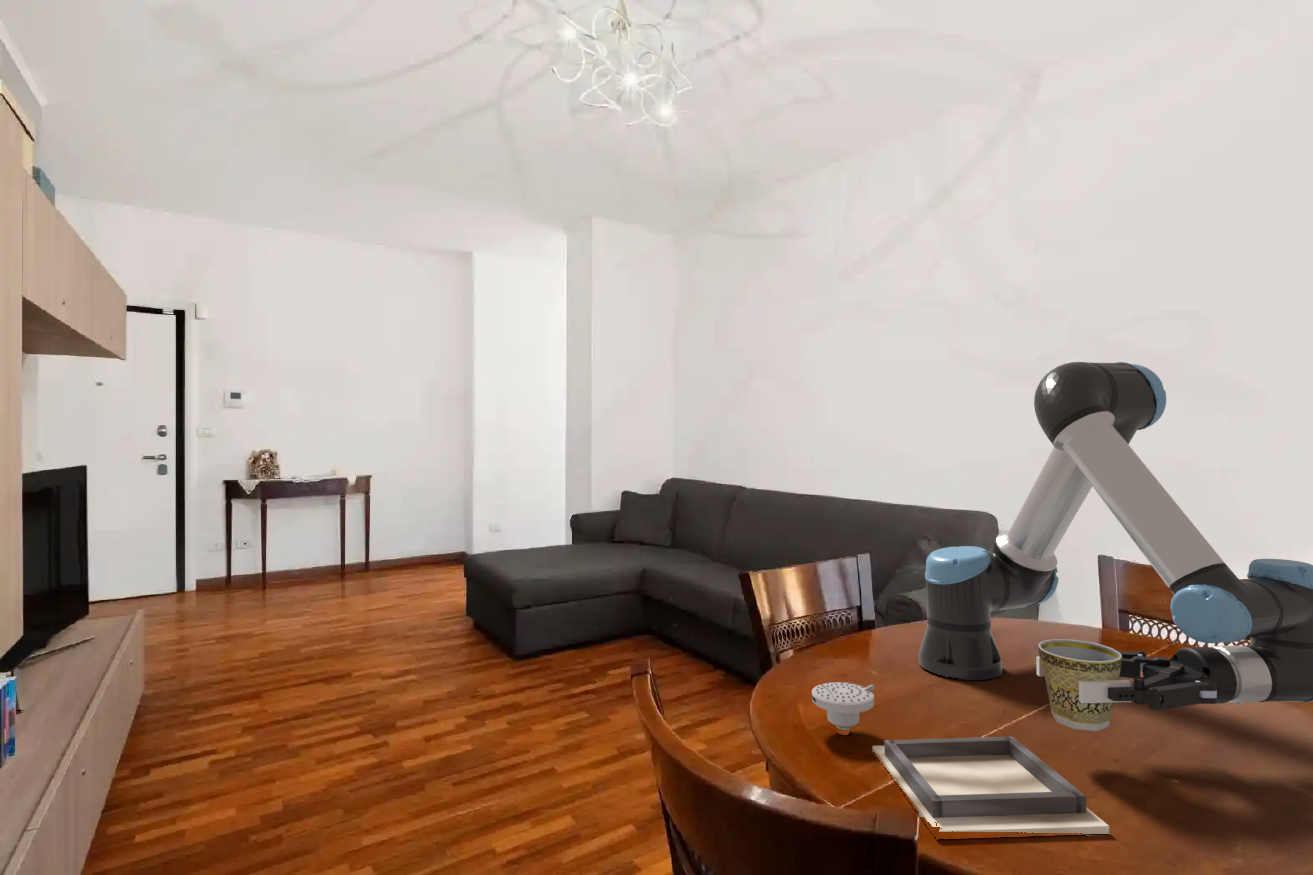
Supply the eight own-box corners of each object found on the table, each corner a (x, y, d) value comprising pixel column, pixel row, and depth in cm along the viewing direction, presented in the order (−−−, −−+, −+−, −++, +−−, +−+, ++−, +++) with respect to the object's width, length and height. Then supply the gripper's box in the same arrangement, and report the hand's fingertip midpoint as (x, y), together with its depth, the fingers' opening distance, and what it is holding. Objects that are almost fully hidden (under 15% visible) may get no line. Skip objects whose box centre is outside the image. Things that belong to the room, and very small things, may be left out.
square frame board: (872, 752, 100) (872, 732, 100) (1007, 748, 100) (1007, 727, 100) (936, 840, 78) (935, 813, 78) (1109, 834, 78) (1108, 808, 78)
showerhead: (887, 695, 103) (822, 699, 102) (888, 743, 103) (824, 748, 102) (863, 674, 112) (803, 677, 111) (864, 718, 112) (805, 722, 111)
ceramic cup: (1092, 742, 89) (1091, 666, 89) (1022, 714, 98) (1021, 645, 98) (1152, 723, 94) (1151, 650, 94) (1080, 698, 103) (1080, 632, 103)
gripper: (1291, 736, 85) (1111, 740, 84) (1158, 673, 106) (1016, 676, 106) (1290, 675, 84) (1111, 680, 84) (1158, 625, 106) (1015, 628, 106)
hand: (1058, 678), depth 95 cm, fingers closed on ceramic cup, 9 cm apart
